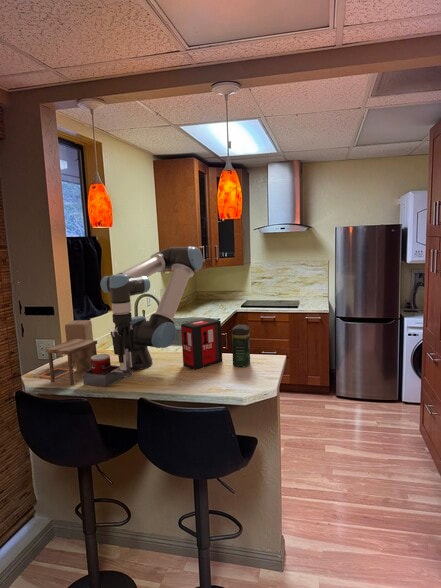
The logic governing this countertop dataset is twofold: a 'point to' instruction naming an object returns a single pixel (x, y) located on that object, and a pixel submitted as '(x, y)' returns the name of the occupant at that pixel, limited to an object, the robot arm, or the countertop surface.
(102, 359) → the canned food
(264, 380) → the countertop surface
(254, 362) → the countertop surface
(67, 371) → the frame
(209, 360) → the cleaning product box
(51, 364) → the small wooden table
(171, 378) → the countertop surface
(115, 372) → the gray open tray
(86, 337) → the wooden block
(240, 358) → the coffee jar
